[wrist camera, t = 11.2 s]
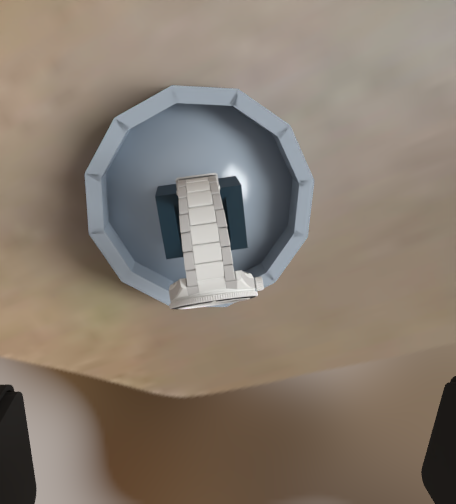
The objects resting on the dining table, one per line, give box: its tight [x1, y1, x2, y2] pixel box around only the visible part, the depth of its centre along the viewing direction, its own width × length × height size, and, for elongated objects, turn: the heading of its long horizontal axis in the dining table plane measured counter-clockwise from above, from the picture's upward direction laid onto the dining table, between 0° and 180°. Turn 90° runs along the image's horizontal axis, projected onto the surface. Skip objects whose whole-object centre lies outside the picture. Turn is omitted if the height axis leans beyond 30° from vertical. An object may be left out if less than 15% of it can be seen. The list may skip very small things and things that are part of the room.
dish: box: [85, 85, 314, 307], centre depth 30 cm, size 15×15×3 cm
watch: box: [155, 173, 264, 309], centre depth 25 cm, size 6×8×11 cm
